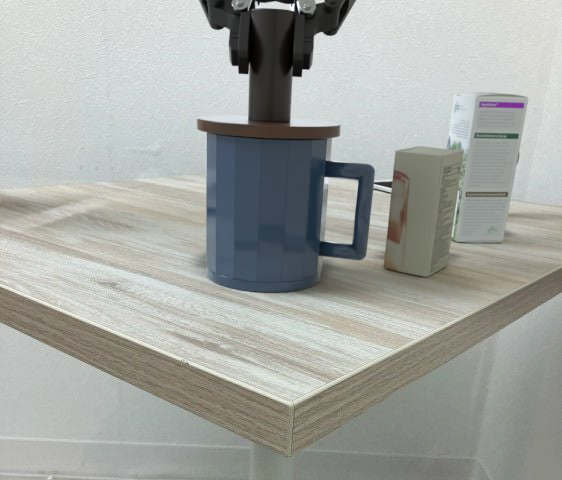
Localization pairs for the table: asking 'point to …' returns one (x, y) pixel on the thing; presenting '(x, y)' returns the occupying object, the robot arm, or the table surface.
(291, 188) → the blue faceted mug
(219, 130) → the lid
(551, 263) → the table surface
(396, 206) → the printed cream carton
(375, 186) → the cell phone
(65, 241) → the table surface
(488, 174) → the syrup box
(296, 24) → the robot arm
